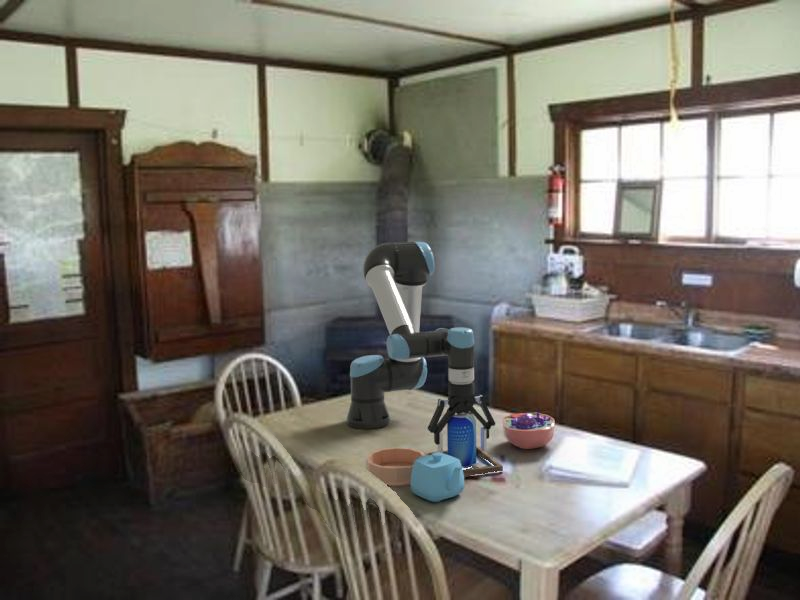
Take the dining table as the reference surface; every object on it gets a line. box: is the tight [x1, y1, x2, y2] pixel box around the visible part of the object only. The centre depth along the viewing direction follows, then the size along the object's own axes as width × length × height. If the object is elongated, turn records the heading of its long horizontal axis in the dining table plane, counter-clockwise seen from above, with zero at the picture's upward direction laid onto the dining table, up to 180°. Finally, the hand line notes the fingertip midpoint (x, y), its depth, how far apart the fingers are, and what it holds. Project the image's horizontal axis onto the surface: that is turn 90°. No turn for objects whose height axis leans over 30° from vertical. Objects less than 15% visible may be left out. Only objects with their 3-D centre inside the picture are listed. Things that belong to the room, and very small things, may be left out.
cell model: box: [501, 411, 556, 450], centre depth 241 cm, size 17×20×11 cm
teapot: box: [410, 453, 466, 503], centre depth 203 cm, size 12×18×12 cm
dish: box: [365, 446, 426, 487], centre depth 220 cm, size 18×18×5 cm
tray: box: [423, 446, 504, 479], centre depth 225 cm, size 18×18×2 cm
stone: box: [472, 461, 488, 469], centre depth 221 cm, size 4×3×2 cm
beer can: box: [446, 411, 477, 468], centre depth 224 cm, size 8×8×16 cm
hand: (462, 452), depth 225 cm, fingers open, 13 cm apart
